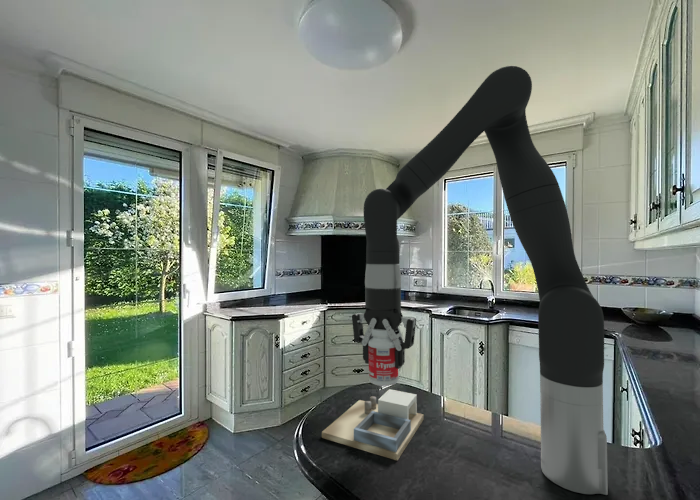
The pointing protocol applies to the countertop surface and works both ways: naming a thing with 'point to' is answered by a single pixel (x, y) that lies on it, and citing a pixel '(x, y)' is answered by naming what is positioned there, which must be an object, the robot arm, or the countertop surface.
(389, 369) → the pill bottle
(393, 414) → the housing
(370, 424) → the base board
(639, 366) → the countertop surface
